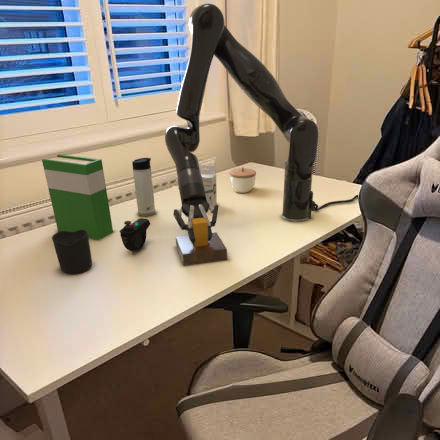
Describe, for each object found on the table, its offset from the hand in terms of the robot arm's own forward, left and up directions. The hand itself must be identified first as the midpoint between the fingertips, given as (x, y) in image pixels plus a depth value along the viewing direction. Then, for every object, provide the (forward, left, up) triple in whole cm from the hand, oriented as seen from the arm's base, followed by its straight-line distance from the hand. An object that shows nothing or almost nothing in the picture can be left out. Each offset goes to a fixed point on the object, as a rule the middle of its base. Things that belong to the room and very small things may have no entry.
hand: (201, 240), depth 128 cm
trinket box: (-29, -56, -5) cm, 63 cm away
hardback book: (+34, -30, -5) cm, 46 cm away
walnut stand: (0, -2, -5) cm, 5 cm away
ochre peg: (0, -2, -5) cm, 5 cm away
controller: (+18, -11, -5) cm, 22 cm away
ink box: (-10, -43, -5) cm, 44 cm away
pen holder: (+36, -3, -5) cm, 37 cm away
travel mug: (+12, -41, -5) cm, 43 cm away
